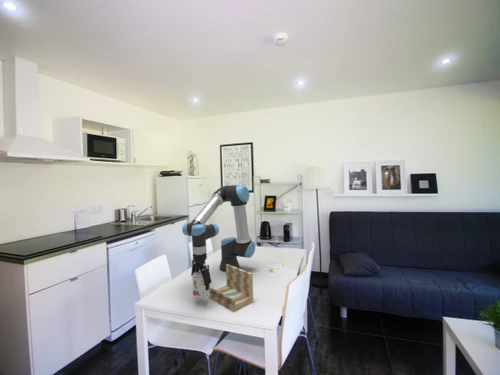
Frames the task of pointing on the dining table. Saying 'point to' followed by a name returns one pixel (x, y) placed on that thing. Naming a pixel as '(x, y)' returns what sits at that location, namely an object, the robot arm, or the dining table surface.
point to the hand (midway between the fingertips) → (201, 292)
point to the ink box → (198, 284)
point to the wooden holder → (234, 289)
